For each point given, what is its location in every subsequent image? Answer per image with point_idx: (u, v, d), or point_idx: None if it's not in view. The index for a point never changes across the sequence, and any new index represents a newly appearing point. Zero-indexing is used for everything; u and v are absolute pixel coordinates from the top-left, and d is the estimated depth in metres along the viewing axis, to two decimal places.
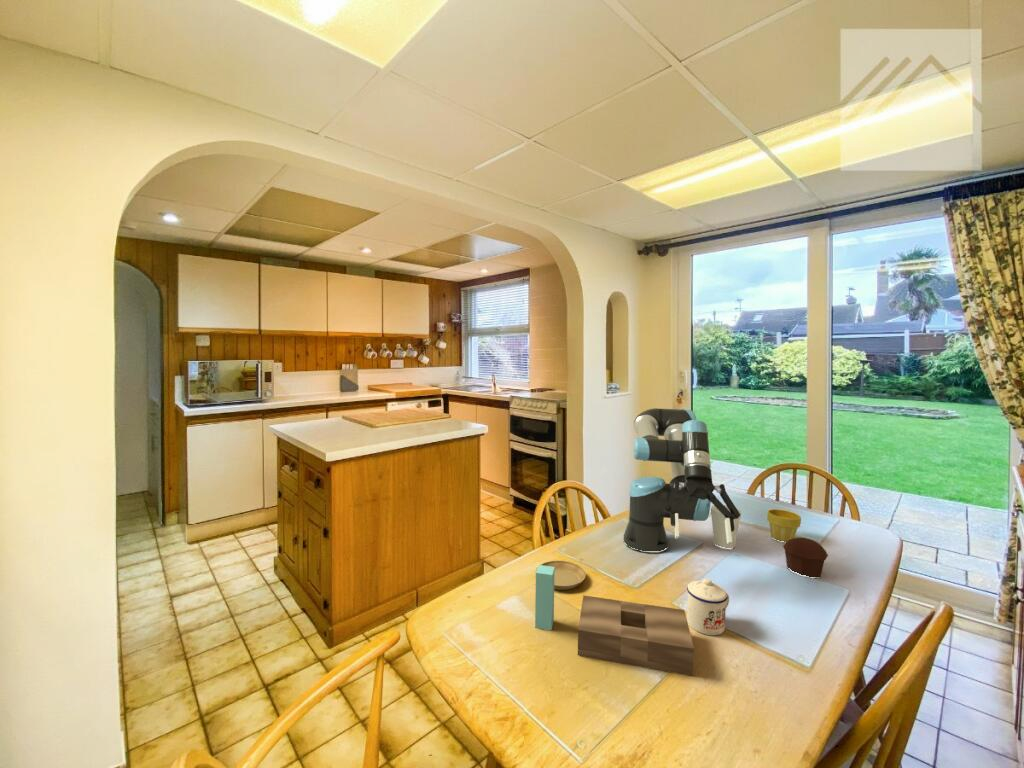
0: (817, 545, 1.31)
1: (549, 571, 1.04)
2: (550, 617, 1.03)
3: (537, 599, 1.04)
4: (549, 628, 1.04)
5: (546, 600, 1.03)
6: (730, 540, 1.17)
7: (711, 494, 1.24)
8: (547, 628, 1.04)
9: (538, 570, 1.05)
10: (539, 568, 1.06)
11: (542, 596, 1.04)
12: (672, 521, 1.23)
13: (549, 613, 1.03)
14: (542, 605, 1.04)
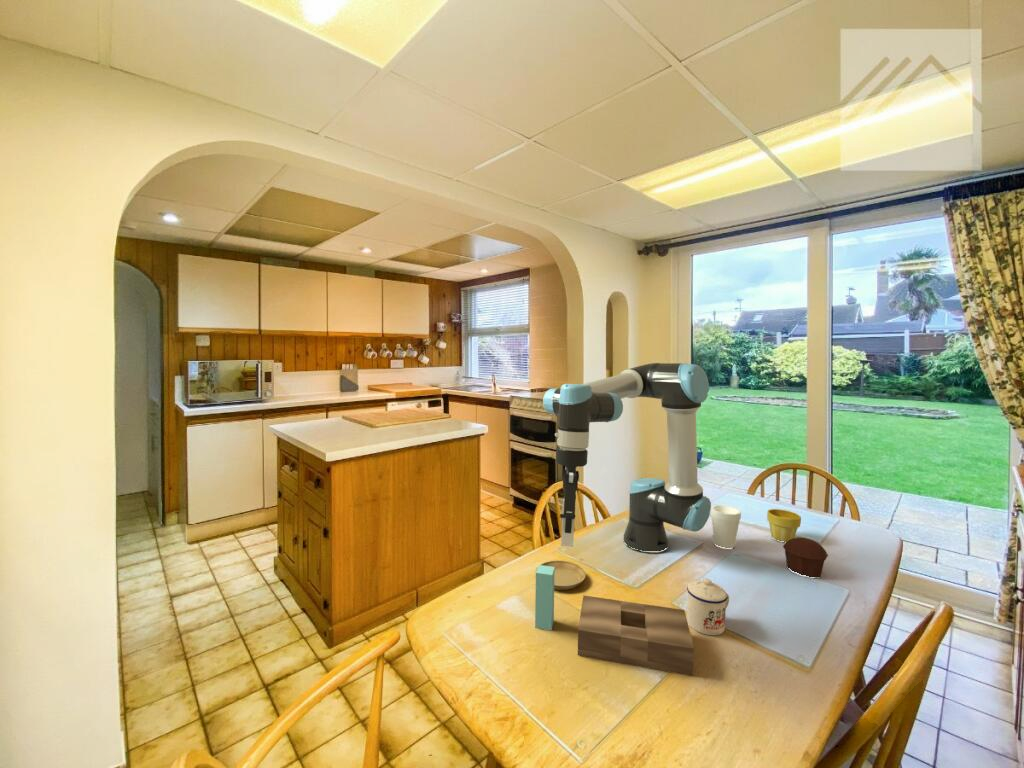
0: (817, 545, 1.31)
1: (549, 571, 1.04)
2: (550, 617, 1.03)
3: (537, 599, 1.04)
4: (549, 628, 1.04)
5: (546, 600, 1.03)
6: (561, 543, 0.97)
7: None
8: (547, 628, 1.04)
9: (538, 570, 1.05)
10: (539, 568, 1.06)
11: (542, 596, 1.04)
12: None
13: (549, 613, 1.03)
14: (542, 605, 1.04)
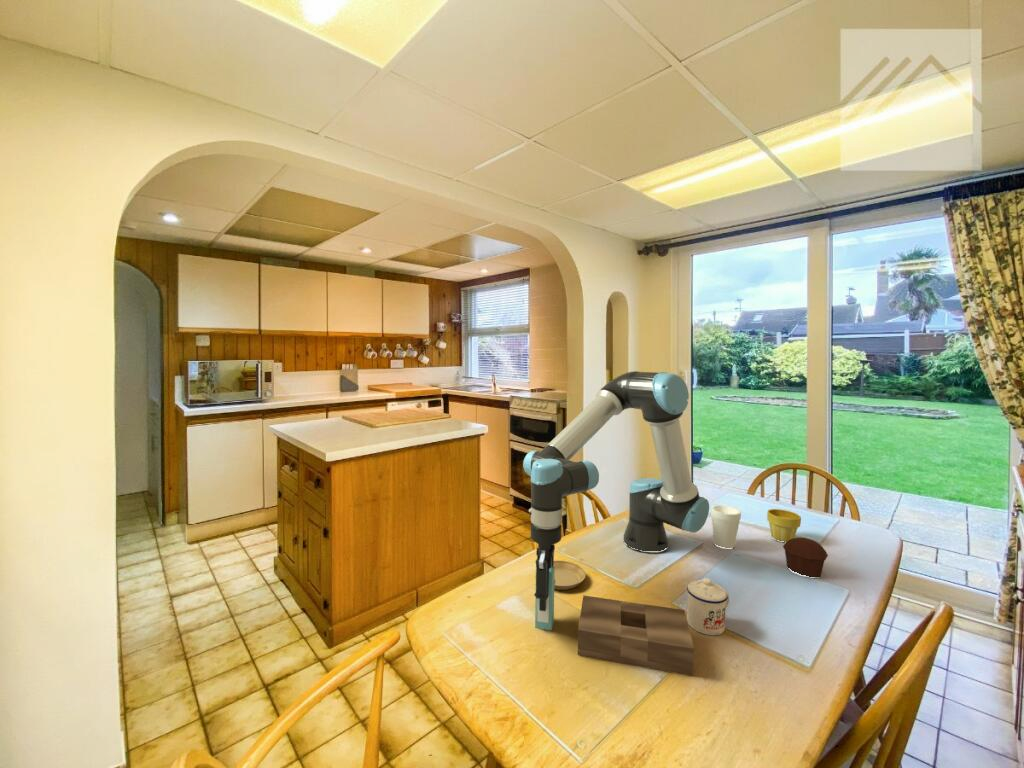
0: (817, 545, 1.31)
1: (549, 571, 1.04)
2: (550, 617, 1.03)
3: (537, 599, 1.04)
4: (549, 628, 1.04)
5: None
6: None
7: None
8: (547, 628, 1.04)
9: None
10: None
11: None
12: None
13: (549, 613, 1.03)
14: None
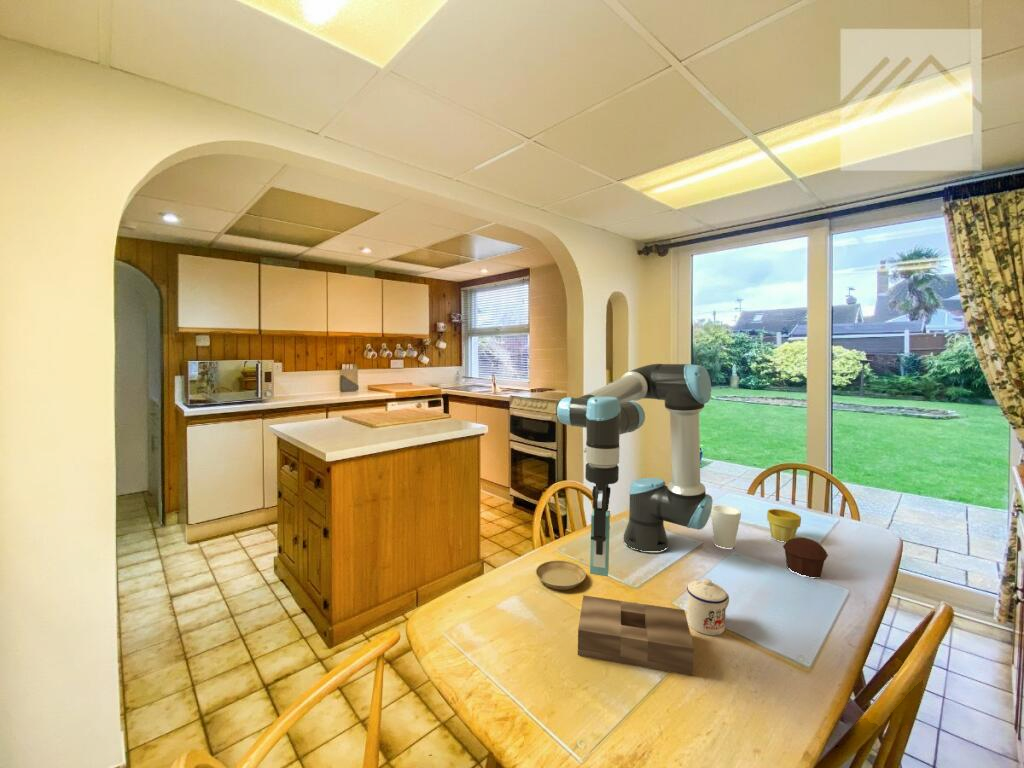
0: (817, 545, 1.31)
1: None
2: (606, 562, 0.98)
3: (592, 544, 0.99)
4: (605, 574, 0.98)
5: None
6: (593, 563, 0.99)
7: (593, 502, 0.98)
8: (603, 574, 0.98)
9: (593, 513, 0.99)
10: None
11: None
12: None
13: None
14: None
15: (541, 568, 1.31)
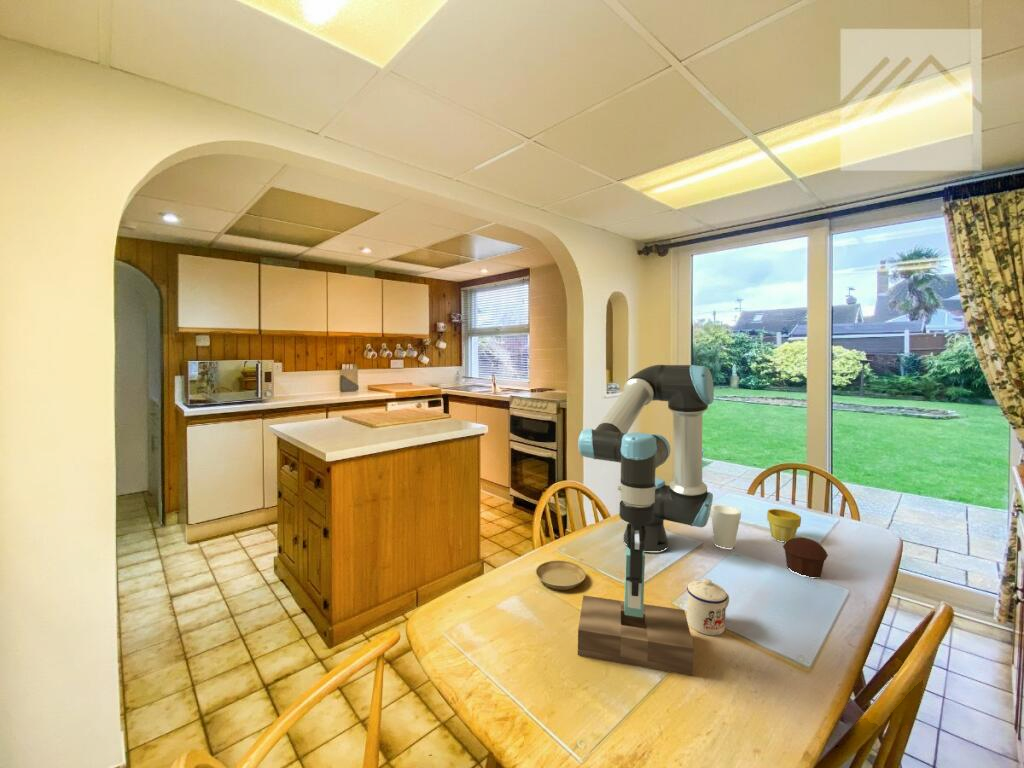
0: (817, 545, 1.31)
1: None
2: (642, 603, 0.96)
3: (627, 584, 0.96)
4: (640, 615, 0.96)
5: None
6: None
7: (628, 542, 0.96)
8: (638, 615, 0.96)
9: (628, 552, 0.97)
10: (628, 550, 0.98)
11: None
12: None
13: (641, 599, 0.96)
14: None
15: (541, 568, 1.31)
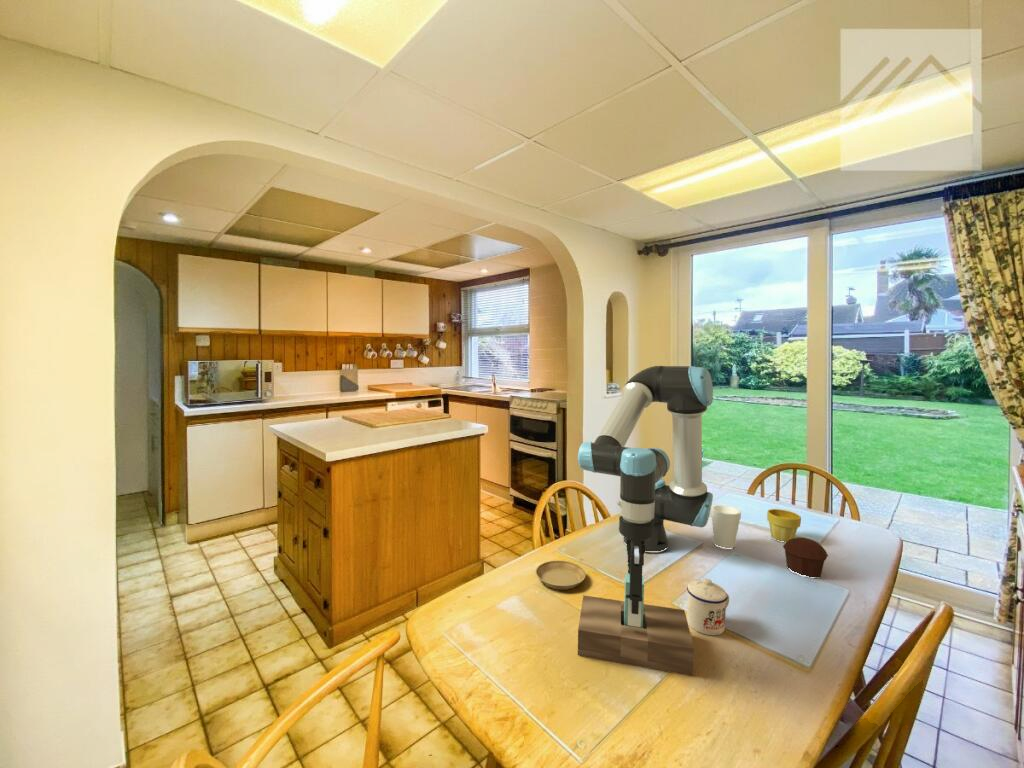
0: (817, 545, 1.31)
1: None
2: None
3: (626, 611, 0.97)
4: None
5: None
6: None
7: None
8: None
9: (627, 579, 0.98)
10: (627, 577, 0.99)
11: None
12: None
13: None
14: None
15: (541, 568, 1.31)
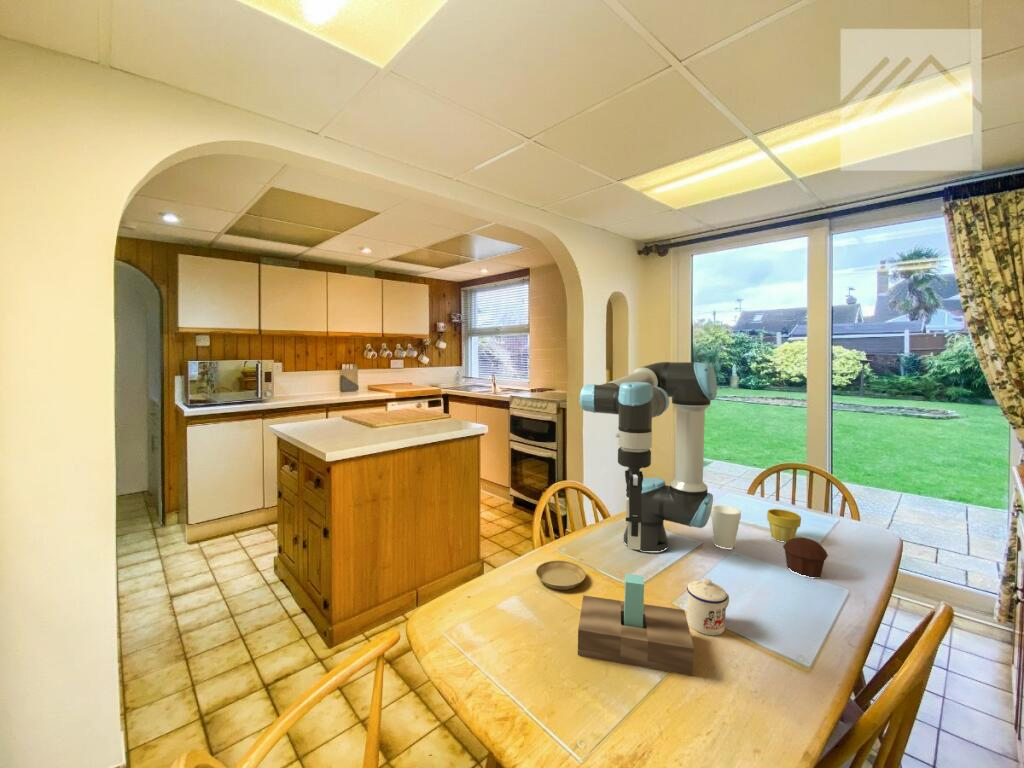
0: (817, 545, 1.31)
1: (639, 581, 0.97)
2: None
3: (626, 611, 0.97)
4: None
5: (637, 612, 0.96)
6: None
7: None
8: None
9: (627, 579, 0.98)
10: (627, 577, 0.99)
11: (633, 607, 0.96)
12: None
13: (640, 625, 0.96)
14: (632, 616, 0.97)
15: (541, 568, 1.31)
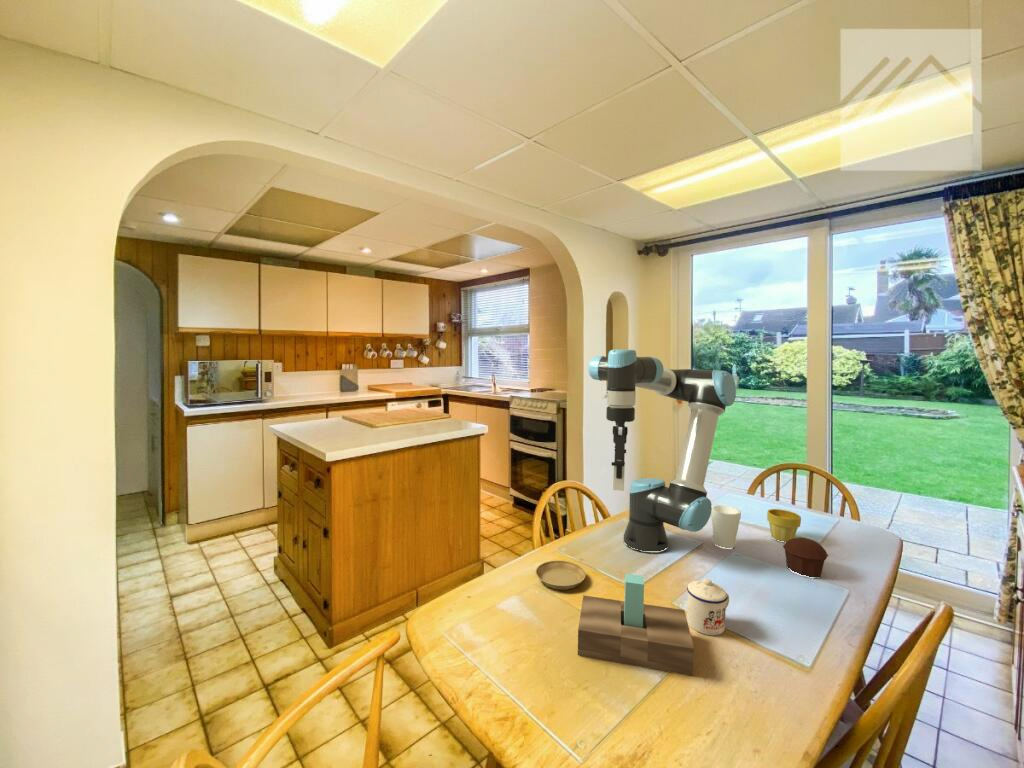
0: (817, 545, 1.31)
1: (639, 581, 0.97)
2: None
3: (626, 611, 0.97)
4: None
5: (637, 612, 0.96)
6: (613, 487, 1.12)
7: (613, 437, 1.15)
8: None
9: (627, 579, 0.98)
10: (627, 577, 0.99)
11: (633, 607, 0.96)
12: None
13: (640, 625, 0.96)
14: (632, 616, 0.97)
15: (541, 568, 1.31)
